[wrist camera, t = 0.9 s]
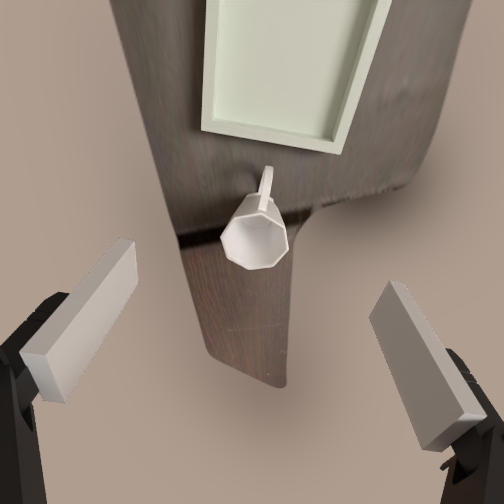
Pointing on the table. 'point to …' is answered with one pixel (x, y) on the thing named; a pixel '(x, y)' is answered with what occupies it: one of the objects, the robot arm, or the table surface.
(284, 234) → the cup
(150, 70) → the table surface
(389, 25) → the table surface
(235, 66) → the tray
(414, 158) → the table surface
